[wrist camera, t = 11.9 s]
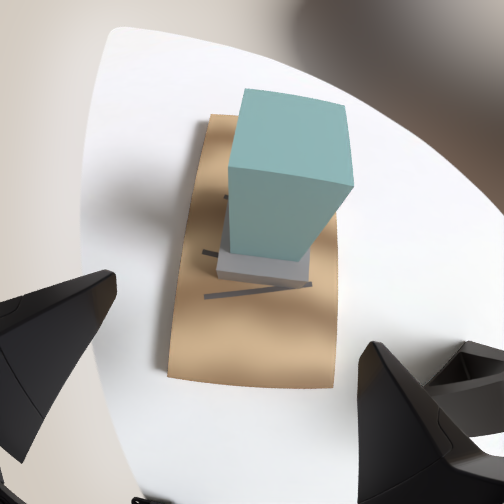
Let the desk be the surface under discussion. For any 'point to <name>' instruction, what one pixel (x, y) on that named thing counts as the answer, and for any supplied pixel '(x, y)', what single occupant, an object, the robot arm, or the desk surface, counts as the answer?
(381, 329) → the desk surface
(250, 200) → the block
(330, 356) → the oak board
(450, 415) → the phone stand
